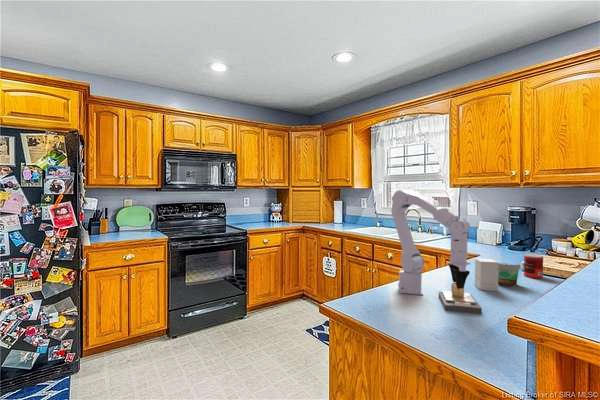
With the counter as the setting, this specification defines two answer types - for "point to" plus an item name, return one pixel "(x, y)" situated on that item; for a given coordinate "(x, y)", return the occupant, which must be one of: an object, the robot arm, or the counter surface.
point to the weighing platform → (450, 298)
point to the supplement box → (486, 274)
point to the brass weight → (456, 291)
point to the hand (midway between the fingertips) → (458, 285)
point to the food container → (508, 274)
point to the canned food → (533, 266)
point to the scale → (460, 305)
